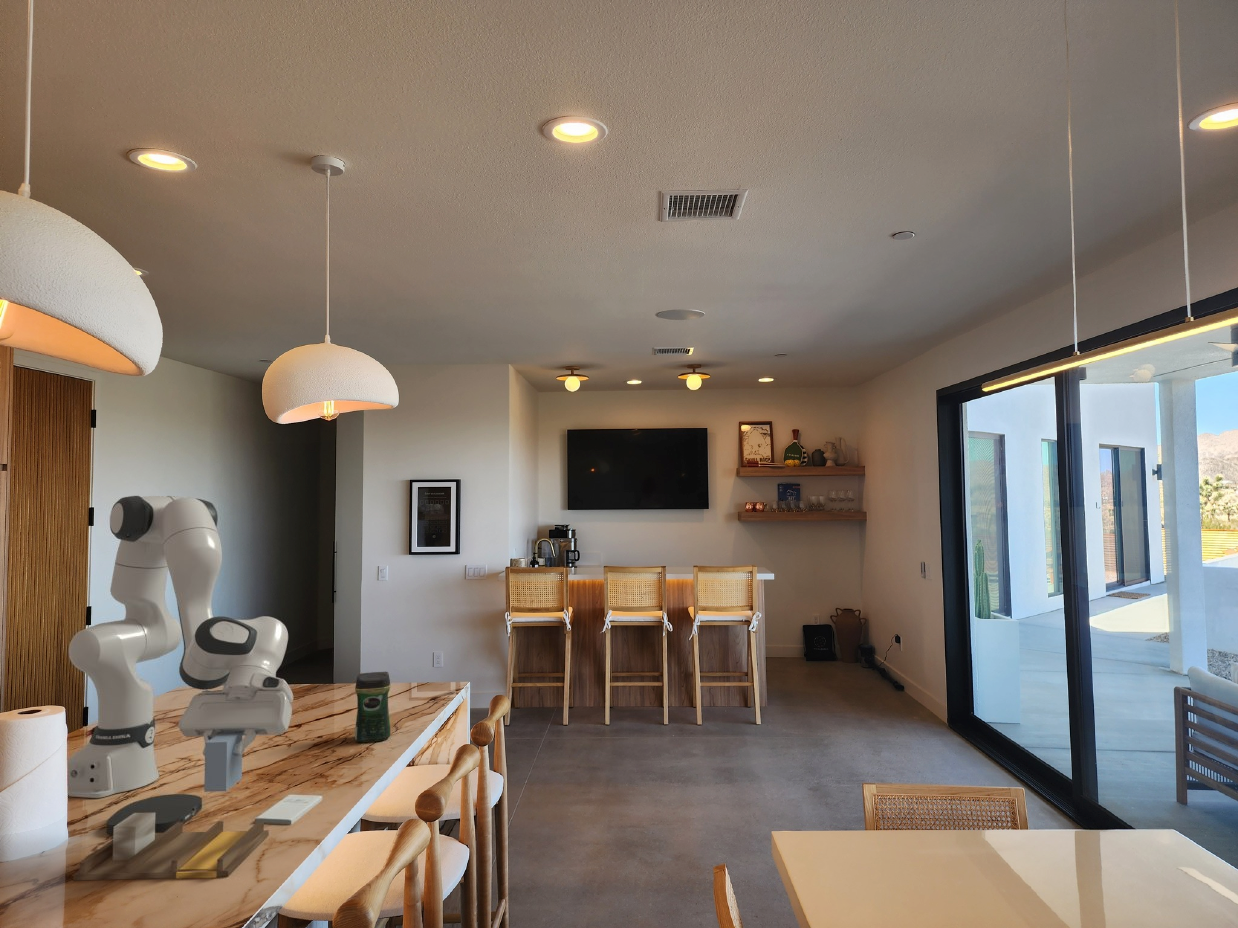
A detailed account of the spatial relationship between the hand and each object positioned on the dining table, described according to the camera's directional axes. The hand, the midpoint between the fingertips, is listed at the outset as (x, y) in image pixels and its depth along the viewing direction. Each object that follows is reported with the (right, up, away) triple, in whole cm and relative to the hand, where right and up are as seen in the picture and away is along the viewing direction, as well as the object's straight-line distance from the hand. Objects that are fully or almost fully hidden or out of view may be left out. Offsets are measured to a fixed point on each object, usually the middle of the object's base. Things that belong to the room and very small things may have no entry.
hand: (222, 754), depth 137 cm
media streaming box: (-23, -21, +15) cm, 34 cm away
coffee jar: (+5, -23, +67) cm, 72 cm away
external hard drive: (+4, -21, +19) cm, 28 cm away
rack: (-8, -19, -1) cm, 21 cm away
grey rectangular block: (0, -6, 0) cm, 6 cm away
